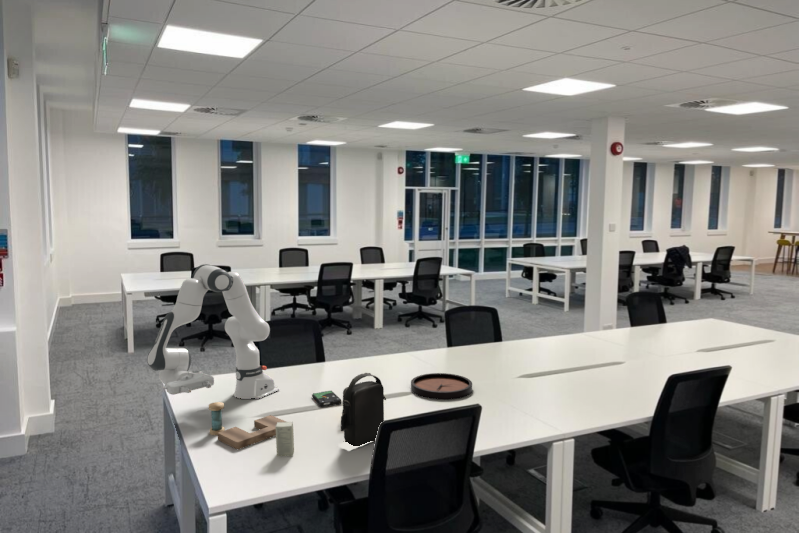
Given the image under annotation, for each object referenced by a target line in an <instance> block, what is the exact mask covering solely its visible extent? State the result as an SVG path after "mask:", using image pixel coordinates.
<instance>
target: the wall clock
mask: <svg viewBox="0 0 799 533" xmlns="http://www.w3.org/2000/svg"><path fill="white" fill-rule="evenodd" d="M410 391H411V392H412V393H413V394H414V395H416V396H418V397H421V398H424V399H430V400H437V401H438V400H439V401H443V400H444V401H445V400H447V401H449V400H458V399H459V400H460V399H462V398H466V397H468V396H469V395H471V394H472V393H473V381H472V380H470V378H467V377H465V376H463V375H459V374H454V373H447V372H446V373H443V372H442V373H441V372H433V373H425V374H421V375H417V376H415V377H414V378H412V379H411V381H410Z"/></svg>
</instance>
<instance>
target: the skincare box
mask: <svg viewBox="0 0 799 533" xmlns="http://www.w3.org/2000/svg"><path fill="white" fill-rule="evenodd" d="M294 436H295V435H294V422H293V421H286V422H277V424H276V436H275V439H276V440H275V441H276V442H275V444H276V446H275V447H276V457H277V456H283V457H293V456H294V454H295V441H294V440H295V439H294V438H295V437H294Z"/></svg>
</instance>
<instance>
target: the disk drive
mask: <svg viewBox="0 0 799 533" xmlns="http://www.w3.org/2000/svg"><path fill="white" fill-rule="evenodd" d="M312 397H313V398H312ZM311 398H312V399H313V400H314V402H316V403H317V405H319V407H320V408H325V407H331V406H337V405H338V406H339V405H342V399H341V398H340V397H339V396H338V395H337V394H336V393H335V392H334V391H333V390H325V391H321V392H313V393H312V394H311Z"/></svg>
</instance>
